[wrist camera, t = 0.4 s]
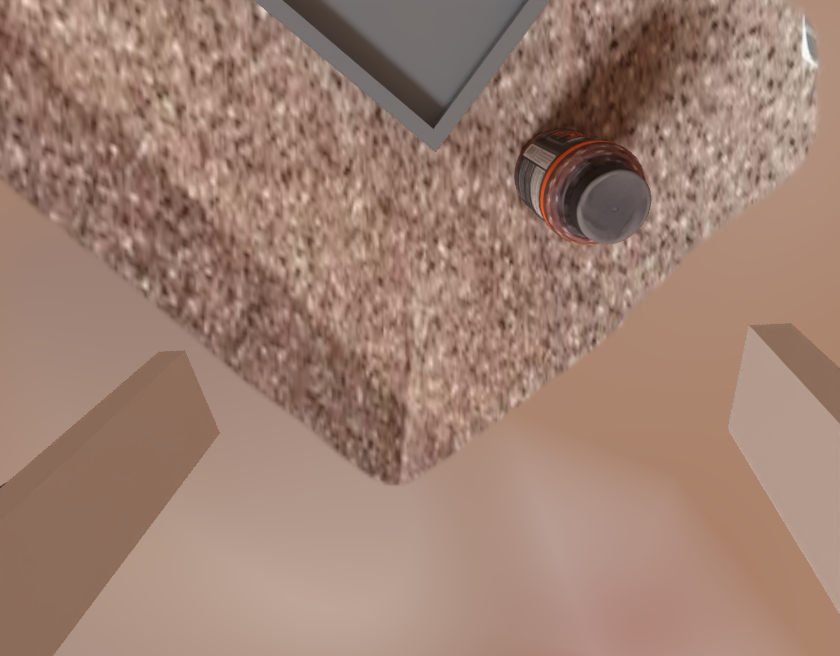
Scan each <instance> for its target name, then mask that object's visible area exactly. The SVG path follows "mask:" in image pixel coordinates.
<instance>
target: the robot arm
mask: <svg viewBox="0 0 840 656" xmlns="http://www.w3.org/2000/svg"><path fill="white" fill-rule="evenodd" d="M728 431H729V432H730V434H731V436H732V437H733V439H734V440H735V442H736V444H737V445H738V447H739V449H740V450H741V452H742V454H743V455H744V457H745V459H746V460H747V462H748V464H749V465H750V467H751V469H752V470H753V471H754V473H755V475H756V477H757V478H758V480H759V482H760V483H761V485H762V487H763V488H764V490H765V492H766V493H767V495H768V497H769V498H770V500H771V502H772V503H773V505H774V506H775V508H776V510H777V511H778V513H779V515H780V516H781V518H782V520H783V521H784V523H785V525H786V526H787V528H788V530H789V531H790V533H791V534H792V536H793V538H794V539H795V541H796V543H797V544H798V546H799V548H800V549H801V551H802V553H803V554H804V556H805V558H806V559H807V561H808V563H809V564H810V566H811V567H812V569H813V571H814V572H815V574H816V576H817V577H818V579H819V581H820V582H821V584H822V585H823V587H824V588H825V590H826V592H827V594H828V595H829V597H830V599H831V600H832V602H833V604H834V605H835V607H836V609H837V610H838V612H839V613H840V368H839V367H838V366H837V365H835V363H833V362H832V361H831V360H830V359H829V358H828V357H827V356H826V355H825V354H824V353H823V352H821V351H820V350H819V349H818V348H817V347H816V346H815V345H814V344H813V343H812V342H811V341H810V340H808V339H807V338H806V337H805V336H804V335H803V334H802V333H801V332H800V331H799V330H798V329H797V328H795V327H794V326H793V325H792V324H770V325H749V329H748V334H747V338H746V343H745V348H744V353H743V358H742V362H741V368H740V372H739V377H738V382H737V387H736V391H735V396H734V401H733V406H732V411H731V416H730V420H729V425H728ZM219 433H220V432H219V430H218V428H217V425H216V423H215V421H214V418H213V416H212V413H211V411H210V409H209V406H208V404H207V402H206V399H205V397H204V395H203V392H202V390H201V387H200V385H199V383H198V380H197V378H196V376H195V373H194V371H193V369H192V366H191V364H190V362H189V359H188V357H187V355H186V352H185V351H167V352H158V353H157V354H156V355H155V356H153V357H152V358H151V359H150V360H149V361H148V362H147V363H145V364H144V365H143V366H142V367H141V368H140V369H138V370H137V371H136V372H135V373H134V374H133V375H132V376H130V377H129V378H128V379H127V380H126V381H124V382H123V383H122V384H121V385H120V386H119V387H117V388H116V389H115V390H114V391H113V392H112V393H110V394H109V395H108V396H107V397H106V398H105V399H104V400H102V401H101V402H100V403H99V404H98V405H97V406H95V407H94V408H93V409H92V410H91V411H90V412H88V413H87V414H86V415H85V416H84V417H82V418H81V419H80V420H79V421H78V422H77V423H76V424H74V425H73V426H72V427H71V428H70V429H69V430H67V431H66V432H65V433H64V434H63V435H62V436H60V437H59V438H58V439H57V440H56V441H55V442H53V443H52V444H51V445H50V446H49V447H48V448H46V449H45V450H44V451H43V452H42V453H41V454H39V455H38V456H37V457H36V458H35V459H34V460H32V461H31V462H30V463H29V464H28V465H27V466H26V467H24V468H23V469H22V470H21V471H20V472H19V473H17V474H16V475H15V476H14V477H13V478H12V479H10V480H9V481H8V482H6V483H5V484H3V485H2V486H0V656H53V655H54V654H55V652H56V651H57V650H58V648H59V647H60V646H61V644H62V643H63V642H64V640H65V639H66V638H67V636H68V635H69V634H70V632H71V631H72V630H73V628H74V627H75V625H76V624H77V623H78V622H79V620H80V619H81V618H82V616H83V615H84V614H85V612H86V611H87V610H88V608H89V607H90V606H91V604H92V603H93V602H94V600H95V599H96V598H97V596H98V595H99V594H100V592H101V591H102V590H103V588H104V587H105V585H106V584H107V583H108V582H109V580H110V579H111V577H112V576H113V575H114V574H115V572H116V571H117V570H118V568H119V567H120V566H121V564H122V563H123V561H124V560H125V559H126V558H127V556H128V555H129V554H130V552H131V551H132V550H133V548H134V547H135V546H136V544H137V543H138V542H139V540H140V539H141V538H142V536H143V535H144V534H145V532H146V531H147V529H148V528H149V527H150V526H151V524H152V523H153V521H154V520H155V519H156V518H157V516H158V515H159V514H160V512H161V511H162V510H163V508H164V507H165V506H166V504H167V503H168V502H169V500H170V499H171V498H172V496H173V495H174V494H175V492H176V491H177V489H178V488H179V487H180V485H181V484H182V483H183V481H184V480H185V479H186V478H187V476H188V475H189V474H190V472H191V471H192V470H193V468H194V467H195V466H196V464H197V463H198V462H199V460H200V459H201V458H202V456H203V455H204V454H205V452H206V451H207V450H208V448H209V447H210V445H211V444H212V443H213V442H214V440H215V439H216V438H217V436H218V435H219Z"/></svg>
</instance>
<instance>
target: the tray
mask: <svg viewBox="0 0 840 656" xmlns="http://www.w3.org/2000/svg"><path fill="white" fill-rule="evenodd" d="M254 1H256V2H257V3H258V4H259V5H260V6H262V7H263V8H264V9H265V10H266V11H268V12H269V13H270V14H271V15H272V16H274V17H275V18H276V19H277V20H278V21H280V22H281V23H282V24H283V25H284V26H285V27H287V28H288V29H289V30H290V31H291V32H293V33H294V34H295V35H296V36H297V37H299V38H300V39H301V40H302V41H303V42H305V43H306V44H307V45H308V46H309V47H311V48H312V49H313V50H314V51H315V52H317V53H318V54H319V55H320V56H321V57H323V58H324V59H325V60H326V61H327V62H329V63H330V64H331V65H332V66H333V67H335V68H336V69H337V70H338V71H339V72H341V73H342V74H343V75H344V76H345V77H347V78H348V79H349V80H350V81H351V82H353V83H354V84H355V85H356V86H357V87H359V88H360V89H361V90H362V91H363V92H364V93H366V94H367V95H368V96H369V97H370V98H372V99H373V100H374V101H375V102H376V103H378V104H379V105H380V106H381V107H382V108H384V109H385V110H386V111H387V112H388V113H390V114H391V115H392V116H393V117H394V118H396V119H397V120H398V121H399V122H400V123H402V124H403V125H404V126H405V127H406V128H408V129H409V130H410V131H411V132H412V133H414V134H415V135H416V136H417V137H418V138H420V139H421V140H422V141H423V142H424V143H426V144H427V145H428V146H429V147H430V148H432V149H433V150H434V151H435V152H436V151H437V150H438V148H439V147H440V146H441V144H442V143H443V142H444V140H445V139H446V138H447V136H448V135H449V134H450V132H451V131H452V130H453V128H454V127H455V126H456V124H457V123H458V122H459V121H460V119H461V118H462V117H463V115H464V114H465V113H466V111H467V110H468V109H469V107H470V106H471V105H472V103H473V102H474V101H475V99H476V98H477V97H478V95H479V94H480V93H481V91H482V90H483V89H484V87H485V86H486V85H487V83H488V82H489V81H490V79H491V78H492V77H493V76H494V74H495V73H496V72H497V70H498V69H499V68H500V66H501V65H502V64H503V62H504V61H505V60H506V58H507V57H508V56H509V54H510V53H511V52H512V50H513V49H514V48H515V46H516V45H517V44H518V42H519V41H520V40H521V38H522V37H523V36H524V34H525V33H526V32H527V31H528V29H529V28H530V27H531V25H532V24H533V23H534V21H535V20H536V19H537V17H538V16H539V15H540V13H541V12H542V11H543V9H544V8H545V7H546V5H547V4H548V3H549V1H550V0H254Z"/></svg>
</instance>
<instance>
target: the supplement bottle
mask: <svg viewBox="0 0 840 656" xmlns="http://www.w3.org/2000/svg"><path fill="white" fill-rule="evenodd" d="M515 185H516V189H517V191H518V194H519V195H520V197H521V198H522V200H523V201H524V202H525V204H526V205H527V206H528V207H529V208H530V209H531V210H532V211H533V212H534V213H535V214H536V215H537V216H538V217H539V218H540V219H541V220H542V221H543V222H544V223H546V224H547V225H548V226H549V227H550V228H551V229H552V230H553V231H554V232H555V233H556V234H557V235H559V236H560V237H561V238H563V239H565V240H567V241H569V242H571V243H575V244H579V245H595V244H599V243H601V244H613V243H618V242H620V241H623V240H625V239H627V238H629V237H630V236H631V235H633V234H634V233H635V232H636V231H637V230H638V229H639V228H640V227H641V226H642V224H643V223H644V221H645V220H646V218H647V216H648V213H649V210H650V206H651V194H650V189H649V186H648V184H647V183H646V180H645V175H644V171H643V169H642V166H641V164H640V163H639V161H638V160H637V158H636V157H635V156H634V155H633V154H632V153H631V152H630V151H628V150H627V149H625V148H624V147H622V146H620V145H617V144H615V143H612V142H610V141H606V140H603V139H600V138H596V137H593V136H590V135H587V134H584V133H580V132H578V131H575V130H570V129H553V130H549V131H546V132H543V133H541V134H539V135H537V136H536V137H534V138H533V139H532V140H531V141H530V142H529V143H528V144H527V145H526V146H525V147H524V149H523V150H522V152H521V154H520V155H519V157H518V160H517V163H516V167H515Z"/></svg>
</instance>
